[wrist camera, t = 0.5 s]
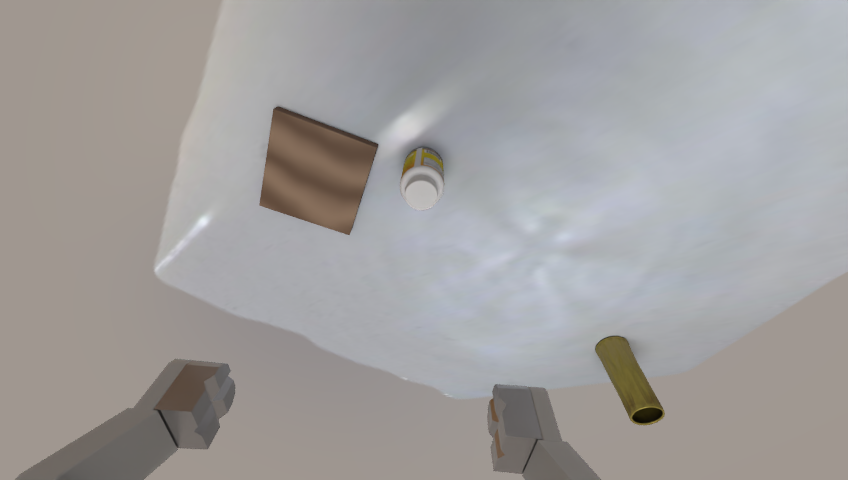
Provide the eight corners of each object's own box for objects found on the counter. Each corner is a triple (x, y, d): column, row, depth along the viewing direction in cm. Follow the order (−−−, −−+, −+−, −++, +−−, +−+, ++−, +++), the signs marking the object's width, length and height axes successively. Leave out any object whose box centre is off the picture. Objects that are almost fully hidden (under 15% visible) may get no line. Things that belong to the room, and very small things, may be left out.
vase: (601, 334, 68) (636, 403, 56) (633, 336, 68) (674, 406, 56) (590, 355, 71) (621, 425, 59) (621, 358, 71) (658, 428, 59)
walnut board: (277, 106, 48) (273, 109, 47) (378, 144, 50) (376, 147, 49) (263, 201, 55) (259, 205, 54) (351, 230, 58) (349, 235, 56)
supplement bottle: (407, 184, 53) (401, 218, 45) (402, 148, 50) (394, 176, 42) (444, 181, 53) (446, 214, 44) (441, 144, 50) (442, 172, 41)
